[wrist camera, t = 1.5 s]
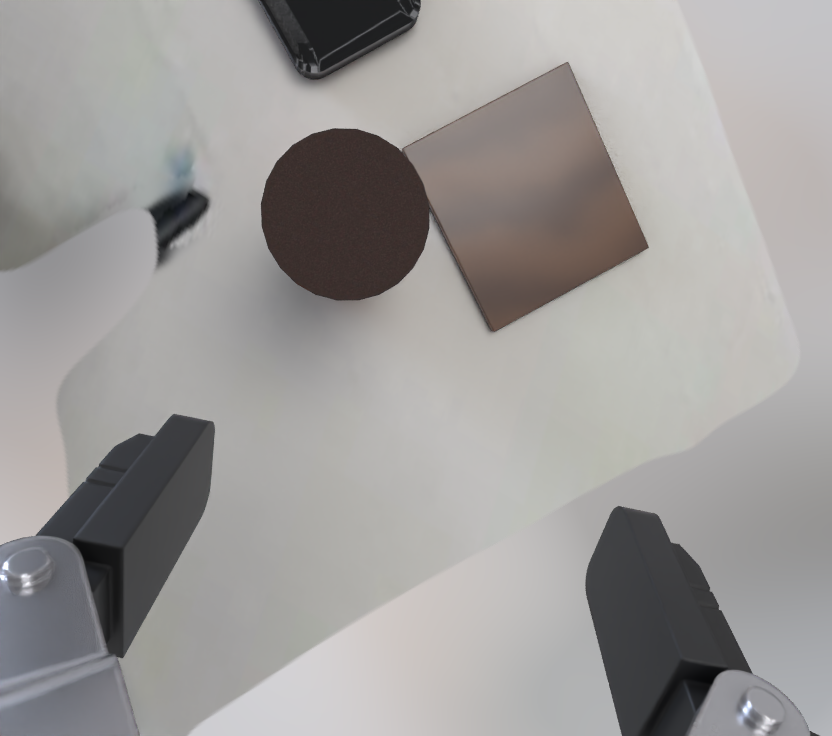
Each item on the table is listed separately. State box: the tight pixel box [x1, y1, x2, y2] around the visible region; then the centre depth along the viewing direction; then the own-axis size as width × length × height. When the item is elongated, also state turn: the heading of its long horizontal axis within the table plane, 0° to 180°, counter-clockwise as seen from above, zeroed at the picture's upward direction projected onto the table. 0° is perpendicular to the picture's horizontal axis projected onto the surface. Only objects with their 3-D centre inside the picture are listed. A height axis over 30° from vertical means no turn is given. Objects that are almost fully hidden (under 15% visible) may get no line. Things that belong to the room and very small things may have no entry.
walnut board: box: [402, 62, 649, 332], centre depth 38 cm, size 12×11×1 cm
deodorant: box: [261, 128, 429, 300], centre depth 29 cm, size 6×6×15 cm
